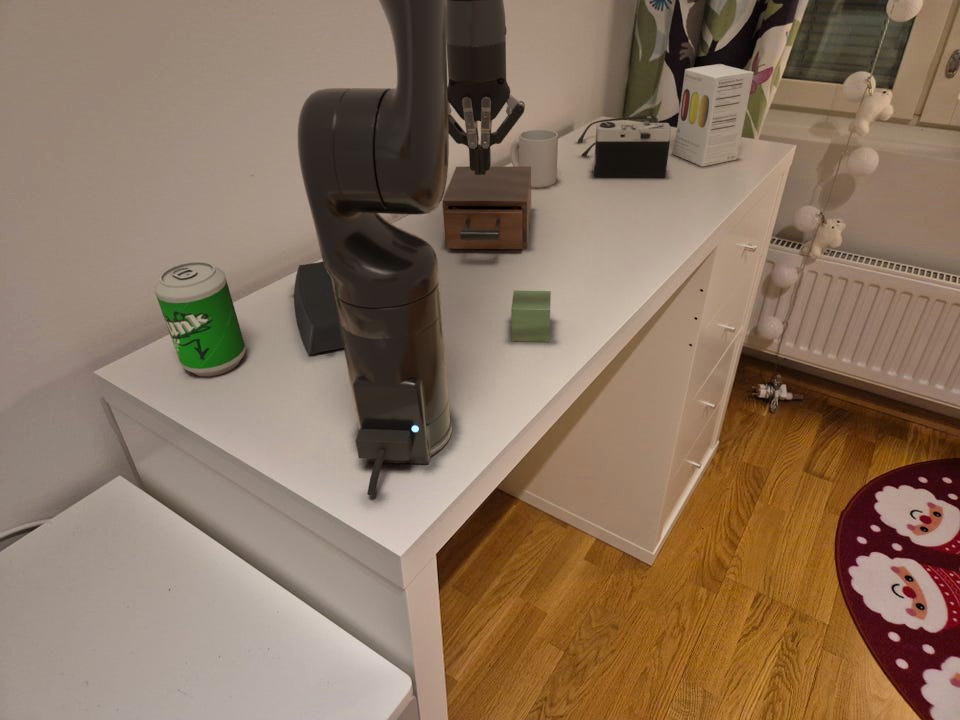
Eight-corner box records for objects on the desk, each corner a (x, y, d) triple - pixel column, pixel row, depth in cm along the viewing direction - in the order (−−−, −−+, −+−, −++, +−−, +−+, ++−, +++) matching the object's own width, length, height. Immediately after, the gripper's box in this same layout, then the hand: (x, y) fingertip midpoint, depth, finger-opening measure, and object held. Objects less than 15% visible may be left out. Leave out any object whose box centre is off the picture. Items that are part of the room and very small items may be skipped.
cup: (542, 191, 122) (543, 142, 117) (500, 181, 128) (499, 134, 123) (563, 180, 127) (565, 133, 122) (521, 170, 132) (521, 125, 127)
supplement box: (671, 154, 137) (682, 68, 128) (706, 147, 140) (720, 62, 131) (702, 167, 130) (716, 76, 120) (738, 159, 133) (755, 70, 124)
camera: (666, 165, 132) (672, 114, 126) (665, 182, 125) (671, 129, 119) (596, 162, 135) (599, 112, 129) (591, 179, 128) (594, 127, 122)
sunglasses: (576, 138, 149) (577, 115, 146) (651, 136, 148) (654, 113, 145) (582, 161, 136) (584, 137, 133) (665, 160, 135) (668, 135, 132)
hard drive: (380, 272, 97) (377, 246, 95) (408, 338, 82) (405, 310, 80) (291, 287, 94) (285, 261, 92) (302, 359, 79) (296, 330, 77)
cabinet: (526, 249, 102) (527, 200, 98) (445, 248, 103) (442, 200, 99) (530, 210, 115) (531, 166, 111) (458, 209, 116) (456, 166, 112)
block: (549, 342, 80) (550, 309, 78) (511, 341, 81) (511, 308, 78) (549, 322, 84) (550, 290, 81) (513, 321, 84) (513, 290, 82)
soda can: (225, 338, 84) (199, 252, 77) (260, 358, 79) (236, 269, 73) (170, 365, 79) (137, 276, 72) (205, 388, 75) (173, 296, 68)
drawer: (520, 266, 95) (520, 228, 92) (441, 265, 96) (438, 227, 93) (526, 212, 112) (526, 178, 108) (459, 212, 113) (457, 178, 110)
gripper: (418, 44, 80) (430, 182, 90) (527, 42, 79) (526, 182, 89) (428, 34, 86) (438, 164, 96) (529, 31, 85) (528, 164, 95)
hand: (480, 172), depth 93 cm, fingers closed
